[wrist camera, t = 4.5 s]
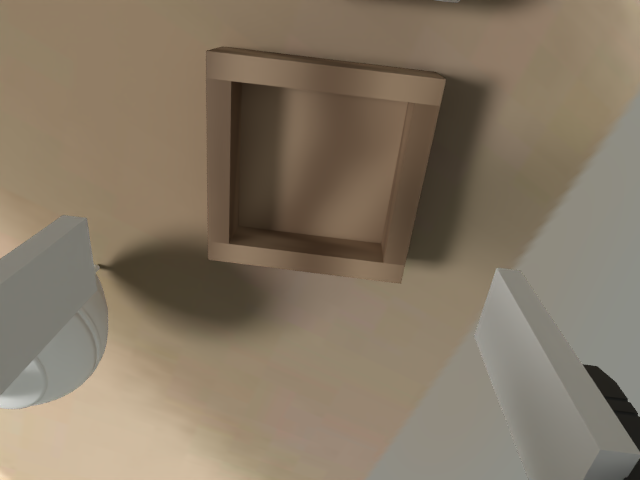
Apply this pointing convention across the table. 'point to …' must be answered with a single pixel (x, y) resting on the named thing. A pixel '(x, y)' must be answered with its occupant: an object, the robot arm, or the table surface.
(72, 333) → the spinning top
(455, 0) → the white rounded cylinder
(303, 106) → the tray
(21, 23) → the table surface
